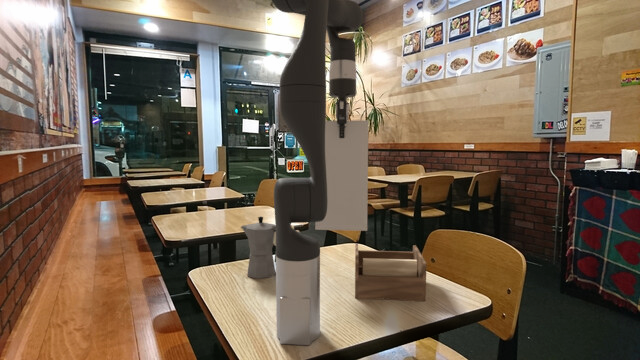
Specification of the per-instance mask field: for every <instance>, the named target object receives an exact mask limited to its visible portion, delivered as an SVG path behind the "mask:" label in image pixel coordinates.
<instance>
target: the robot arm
mask: <svg viewBox="0 0 640 360" xmlns="http://www.w3.org/2000/svg"><path fill="white" fill-rule="evenodd" d="M271 2H272V4H273V5H274V7H276V9H278V11H280V12H282V13H288V14H297V15H302V16H304V20H303V21H304V22H303V28H302V32H301V35H300V37H299V40H298V41H297V44H296V45H295V47H294V49H293V51H292V53H291V55H290V56H289V58H288V59H287V62H285V63H286V64H285V65H284V67H283V70H282V72H281V75H280V80H279V109H280V113H281V116H282V120H283V121H284V124H286V127H287V128H288V130H289V131H290V133H291V134H292V136H293V137H294V139H295V140H296V141H297V143H298V145H299V146H300V148H301V150H302V152H303V154H304V156H305V158H306V161H307V164H308V167H309V172H310V177H281V178H278V179H277V180H276V182H275V184H274V188H273V205H274V206H273V207H274V222H275V224H274V225H276V246H275V252H276V263H275V272H276V274H275V296H276V297H275V299H276V300H275V303H276V306H275V307H276V308H275V309H276V310H275V311H276V314H275V315H276V337H277V338H278V340H279V343H280V344H281V345H300V346H301V345H302V346H310V345H311V344H312V343H313V342H314V341H316V340H317V339H318V338H319V337H320V335H321V243H320V241H319V240H318V239H317V238H315V237H314V236H309V235H307V234H303V233H301V232H300V231H299V232H300V233H299V232H297V231H296V230H295V228H294V229H293V228H292V227H291V225H292V224H296V223H297V224H299V223H300V224H302V223H315V222H320V221H323V220H324V218H325V216H326V213H327V202H328V199H327V178H326V160H325V121H327V120H326V117H327V116H326V115H327V76H326V75H327V73H326V72H327V70H326V68H327V67H326V66H327V65H326V62H327V61H326V46H327V45H326V44H327V42H326V41H327V38H328V41H329V42H328V43H329V49H330V51H329V52H330V53H329V54H330V59H329V60H330V61H329V63H330V64H329V73H328V74H329V75H328V76H329V78H328V79H329V80H328V81H329V84H328V85H329V86H328V88H329V93H328V94H329V96H330V97H331V98H335V99H337V101H336V102H335V103H334V106H335V107H334V109H335V119H336V121H337V125H338V126H339V138H344V136H345V128H346V127H345V126H346V125H347V123H346V122H347V121H349V119H350V118H349V117H350V106H351V105H350V102H348V101H347V100H348V98H349V99H350V98H354V97H355V96H357V65H356V55H357V53H356V52H357V51H356V47H357V46H356V42H355V41H354V40H352V39H349V38H344V37H343V38H342V37H340V35H339V33H346V32H355V31H357V30H358V29H360V27H361V26H362V24H363V19H364V12H363V10H362V8H361V6H360V5H359V4H358V3H357V2H356V1H354V0H271ZM341 129H342V130H341Z"/></svg>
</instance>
